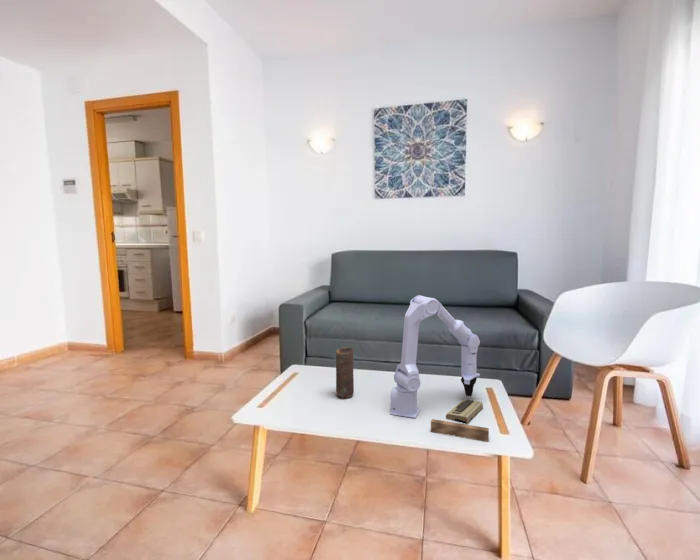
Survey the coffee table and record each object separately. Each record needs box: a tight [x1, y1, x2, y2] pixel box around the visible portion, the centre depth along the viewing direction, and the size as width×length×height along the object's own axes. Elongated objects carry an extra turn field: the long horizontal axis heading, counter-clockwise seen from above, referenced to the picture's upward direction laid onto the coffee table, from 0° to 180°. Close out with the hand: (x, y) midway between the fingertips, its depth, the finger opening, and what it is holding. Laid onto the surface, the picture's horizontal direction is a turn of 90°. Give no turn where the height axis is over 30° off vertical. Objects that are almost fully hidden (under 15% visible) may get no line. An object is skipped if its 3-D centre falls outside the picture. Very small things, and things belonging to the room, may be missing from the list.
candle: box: [335, 346, 355, 399], centre depth 155 cm, size 8×7×20 cm
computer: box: [445, 399, 484, 425], centre depth 137 cm, size 16×8×3 cm, turn 142°
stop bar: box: [430, 418, 490, 442], centre depth 122 cm, size 18×2×4 cm, turn 67°
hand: (468, 395), depth 149 cm, fingers closed
